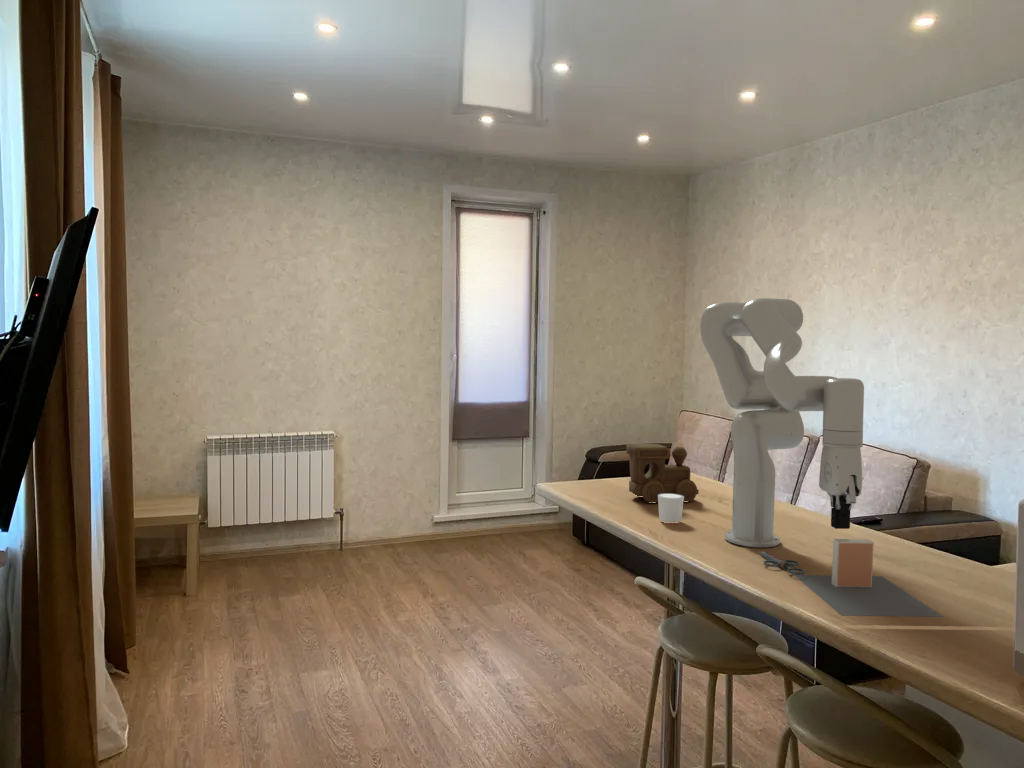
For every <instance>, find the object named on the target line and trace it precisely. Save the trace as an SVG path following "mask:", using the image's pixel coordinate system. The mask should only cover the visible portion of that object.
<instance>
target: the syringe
mask: <svg viewBox="0 0 1024 768" xmlns="http://www.w3.org/2000/svg"><path fill="white" fill-rule="evenodd" d="M757 552H759V553H760V557H762V558H764V559H766V560H763V563H762V564H763V565H764V566H766V567H771V568H777V567H780V568H781V569H783V570H786V572H787V573H788V574H792V575H805V570H804V569H803V568H799V567H798V566H800V562H799V561H797V560H793V559H784V560H782V559H780V558H778V557H776V556H775V555H772V554H771V553H769V552H767V551H764V550H762V551H759V550H757Z"/></svg>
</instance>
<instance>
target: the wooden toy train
mask: <svg viewBox="0 0 1024 768" xmlns="http://www.w3.org/2000/svg"><path fill="white" fill-rule="evenodd" d="M626 454H627V455H629V475H630V480H629V481H628V482H629V483H628V491H629V492H630V493H631V494H633V495H634V494H635V495H637V496H643V497H642V498H643V501H645V502H646V501H647V502H658V495H659V494H663V493H672V494H679V495H682V496H684V501H690V502H692V501H694V499H695V498H696V496H697V495H699V489H698V486H697V485H696V483H695V481H693V480H691V467H689V466H688V465H685V464H684V462H685V460H686V458H687V456H688V452H687V450H686V449H685V447H684V446H675V447H674V449H673V450H672V451H671V456H672V459H673V460H674V462H675V464H666V459H668V458H669V457H670V456H669V455H670V448H668V447H667V446H665V445H662V444H657V443H632V444H631V443H630V444H626ZM648 465H649V468H648V471H647V472H646V473H645V468H646V467H647V466H648ZM635 495H634V496H635ZM637 496H636V497H637ZM691 500H692V501H691ZM647 502H646V503H647Z"/></svg>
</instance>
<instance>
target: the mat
mask: <svg viewBox="0 0 1024 768" xmlns="http://www.w3.org/2000/svg"><path fill="white" fill-rule="evenodd" d="M794 576H795V577H796V578H797V579H798V580H799V581H801V583H803V584H804V585H805V586H807V588H809V589H810V590H811V591H812V592H813V593H815V594H816V595H817V596H818V597H819V598H820V599H822V600H823V601H824V603H825V602H826V603H827V605H829V606H830V607H831V608H832V609H834V611H835V612H837V613H838V614H839V615H840V616H841V617H842V616H845V617H846V616H848V617H849V616H850V617H851V616H855V617H859V616H860V617H862V616H863V617H866V616H867V617H917V618H918V617H920V618H921V617H929V618H931V617H933V618H944V615H942V614H941V613H939V612H938V611H936V610H935V609H933V608H931V607H930V606H928V605H927V604H925V603H924V602H922V601H920V600H919V599H918V598H916V597H914V596H913V595H911V594H910V593H908V592H907V591H905V590H904V589H903V588H901V587H900V586H898V585H896V584H895V583H893V582H892V581H891V580H889V579H887V578H885V577H884V576H883V575H872V587H835V586H834V585H833V584H832V574H831V575H830V574H829V575H825V574H824V575H823V574H822V575H820V574H817V575H815V574H802V575H796V574H794Z"/></svg>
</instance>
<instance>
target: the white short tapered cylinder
mask: <svg viewBox="0 0 1024 768" xmlns="http://www.w3.org/2000/svg"><path fill="white" fill-rule="evenodd" d="M683 502H684V496H682V495H679V494H672V493H663V494H659V495H658V503H657V504H658V516H659V517H658V518H659V519H660V520H661V521H665V522H680V521H681V522H682V518H683V510H684V509H683V508H684V503H683Z"/></svg>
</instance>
